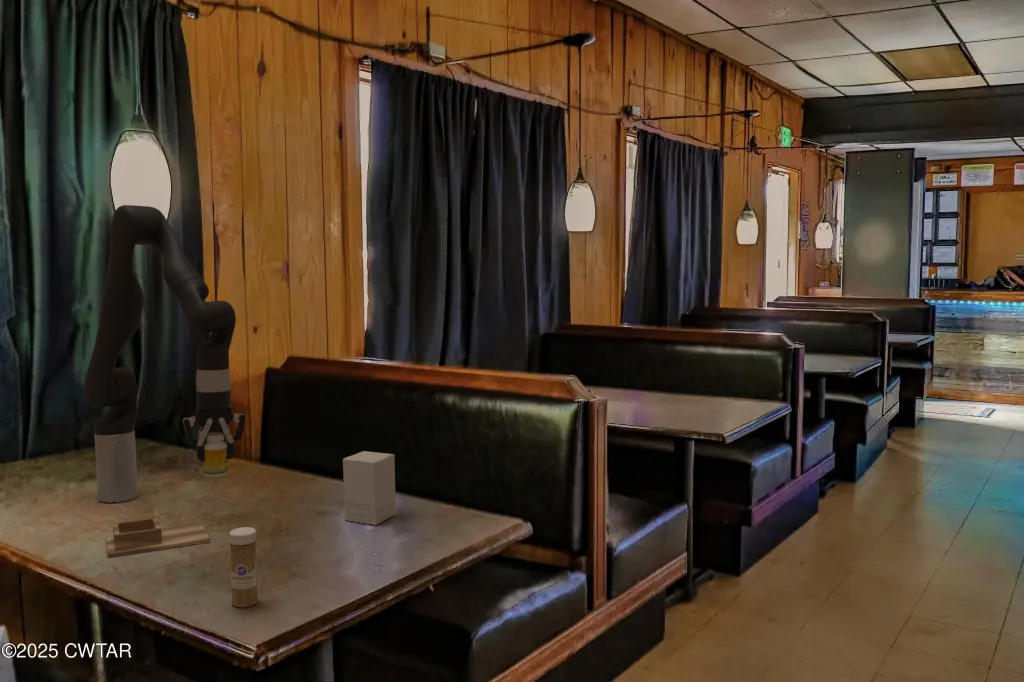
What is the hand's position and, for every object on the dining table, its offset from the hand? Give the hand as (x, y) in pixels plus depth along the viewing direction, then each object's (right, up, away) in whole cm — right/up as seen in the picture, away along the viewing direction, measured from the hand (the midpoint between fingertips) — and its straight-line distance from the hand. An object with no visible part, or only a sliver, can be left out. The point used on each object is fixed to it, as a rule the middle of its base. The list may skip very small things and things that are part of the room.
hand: (215, 459), depth 197 cm
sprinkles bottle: (+21, -20, -45) cm, 53 cm away
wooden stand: (-8, -16, -13) cm, 22 cm away
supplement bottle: (0, -4, 0) cm, 4 cm away
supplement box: (+36, -14, +3) cm, 39 cm away
